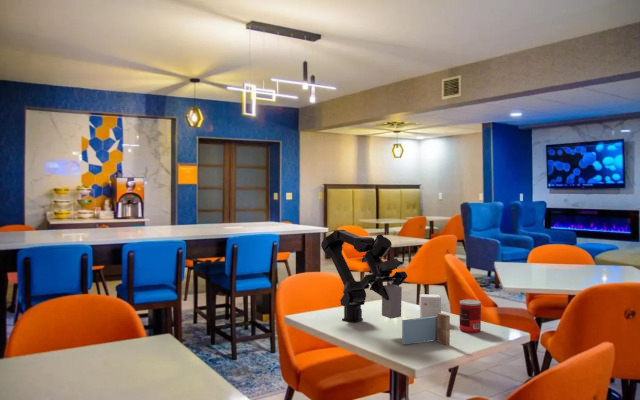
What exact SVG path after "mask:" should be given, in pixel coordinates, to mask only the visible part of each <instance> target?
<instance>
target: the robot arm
mask: <svg viewBox="0 0 640 400" xmlns="http://www.w3.org/2000/svg"><path fill="white" fill-rule="evenodd" d="M345 243H346V244H348V245H350V246H352V247H353V249H354V250H355V251H357V252H358V253H365V254H363V255H362V259H361V262H362V263H366V264H367V266H368V268H369V271H368V273H369V274H365V276H364V277H363V278H362V279H361V280H356V279H355V277H354V275H353V273H352V271H351V269H350V267H349V265H348V263H347V261H346V259H345V257H344V255H343V250H344V249H343V246H344V245H345ZM320 245H321V249H322V250H323V252H324V254H325V255H326V256H327V257H328V258H331V260H332V263H333V264H334V266H335V270H336V271H337V274H338V275H339V278H340V280H341V281H342V284H343V292H342V293H343V295H342V297H341V298H340V300H339V301H340V305H341V306H343V315H344V316H343V318H341V321H345V322H350V323H357V322H361V321H363V320H364V318H363V317H362V316H363V313H362V312H363V310H362V305H363V306H364V305H365V302H366V298H367V292H366V290H368V289H369V291H372V292H374V293H376V294H378V295H379V296H380V297H381V298H382V297H383V298H384V299H386V300H389V297H388V294H387V292H386V290H385V288H384V283H389V285H397V286H401V285H402V284H403V283H404V281H405V280H406V279H407V278H408V274H407V273H406V271H404V270H402V271H395V272H394V274H393V271H394V270H397V269H398V267H400V265H401V264H400V261H399V259H398V258H393V259H391V260H385V261H383V259H382V258H383V257H385V255H386V254H387V253H388V251H389V250H390V249H391V247H392V242H391V240H390V239H389V238H388V237H386V236H384V235H383V234H377V235H376V238H374V237H371V236H359V235H357V234H354V233H352V232H349V231H347V230H345V229H335V230H334V231H333V232H332V233H330V234H329V235H327V236H325V237H324V238H323V240H322V242H321V244H320ZM392 274H393V275H392Z"/></svg>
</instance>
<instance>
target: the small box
mask: <svg viewBox="0 0 640 400" xmlns="http://www.w3.org/2000/svg"><path fill="white" fill-rule="evenodd" d="M437 313H442V297H441V296H440V294H436V293H435V294H425V293H422V294H421V293H420V294H419V318H424V317H432V316H437Z"/></svg>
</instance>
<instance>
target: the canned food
mask: <svg viewBox="0 0 640 400" xmlns="http://www.w3.org/2000/svg"><path fill="white" fill-rule="evenodd" d="M481 303H482V302H481V301H479V300H477V299H462V300H459V330H460V332H463V333H466V334H478V333H480V332H481V329H482V328H481V326H482V325H481V323H482V322H481V321H482V318H481V317H482V305H481Z"/></svg>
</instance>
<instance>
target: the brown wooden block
mask: <svg viewBox="0 0 640 400" xmlns="http://www.w3.org/2000/svg"><path fill="white" fill-rule="evenodd" d="M450 316H451V315H449V314H446V313H443V312H441V313H437V341H436V342H437V343H440V344H443V345H444V346H450V344H451V343H450V337H451V336H450V335H451V332H450V327H451V323H450V322H451V320H450V319H451V317H450Z"/></svg>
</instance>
